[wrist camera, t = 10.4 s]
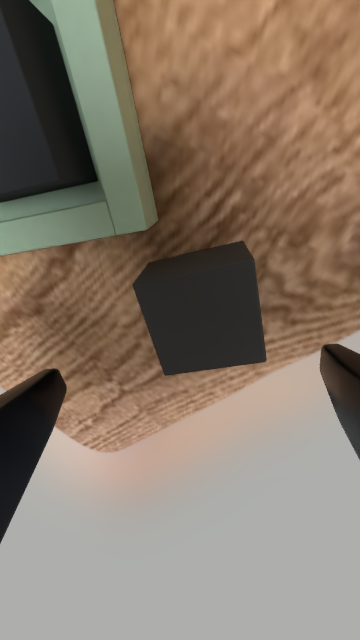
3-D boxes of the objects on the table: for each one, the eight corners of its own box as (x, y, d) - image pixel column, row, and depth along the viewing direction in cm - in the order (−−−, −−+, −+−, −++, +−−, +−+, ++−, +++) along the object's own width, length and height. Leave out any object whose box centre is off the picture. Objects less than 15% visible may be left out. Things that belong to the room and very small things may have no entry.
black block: (172, 340, 14) (164, 376, 12) (147, 262, 12) (131, 284, 10) (255, 326, 13) (267, 362, 11) (243, 239, 11) (254, 257, 9)
